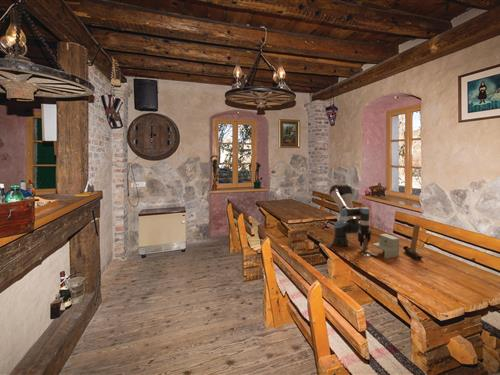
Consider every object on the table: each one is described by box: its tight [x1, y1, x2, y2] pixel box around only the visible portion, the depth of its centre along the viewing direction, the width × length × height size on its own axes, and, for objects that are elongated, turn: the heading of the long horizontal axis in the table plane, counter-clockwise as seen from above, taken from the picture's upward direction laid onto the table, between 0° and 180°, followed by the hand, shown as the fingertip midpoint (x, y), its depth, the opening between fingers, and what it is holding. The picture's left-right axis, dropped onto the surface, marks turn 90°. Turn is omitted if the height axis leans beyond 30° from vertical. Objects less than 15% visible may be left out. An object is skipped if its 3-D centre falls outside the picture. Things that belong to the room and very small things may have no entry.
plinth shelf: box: [371, 233, 400, 259], centre depth 239 cm, size 16×14×16 cm
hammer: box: [402, 223, 424, 260], centre depth 230 cm, size 20×5×30 cm, turn 1°
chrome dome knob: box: [363, 252, 372, 258], centre depth 237 cm, size 6×6×2 cm
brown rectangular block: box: [360, 236, 379, 257], centre depth 241 cm, size 18×4×12 cm, turn 17°
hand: (364, 249), depth 249 cm, fingers closed on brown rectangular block, 4 cm apart
